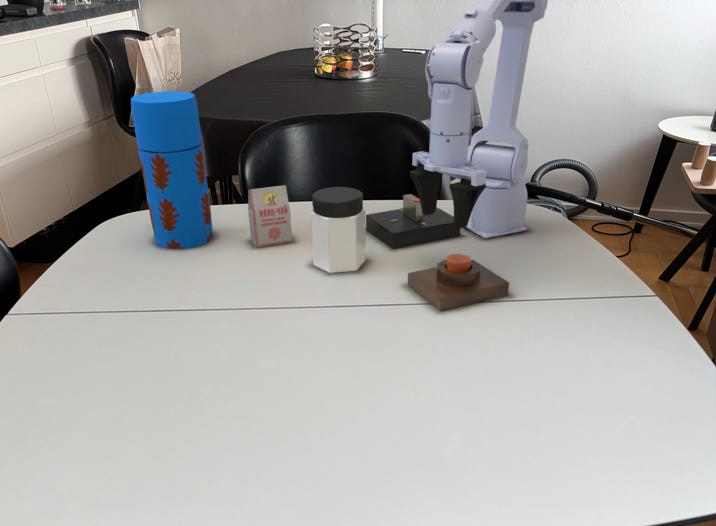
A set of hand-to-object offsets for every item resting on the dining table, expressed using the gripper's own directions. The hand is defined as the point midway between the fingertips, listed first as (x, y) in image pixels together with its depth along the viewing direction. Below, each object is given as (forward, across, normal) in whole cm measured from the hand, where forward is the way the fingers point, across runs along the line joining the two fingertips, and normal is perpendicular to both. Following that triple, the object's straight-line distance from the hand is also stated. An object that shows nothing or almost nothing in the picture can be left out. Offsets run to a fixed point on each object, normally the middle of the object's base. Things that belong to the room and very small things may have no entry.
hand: (444, 220), depth 108 cm
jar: (+9, -13, -12) cm, 20 cm away
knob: (+6, -17, +7) cm, 19 cm away
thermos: (+9, -40, -28) cm, 50 cm away
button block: (+9, +7, -3) cm, 12 cm away
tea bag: (+9, -29, -16) cm, 34 cm away
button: (+5, +7, -3) cm, 9 cm away
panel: (+9, -17, +7) cm, 20 cm away
